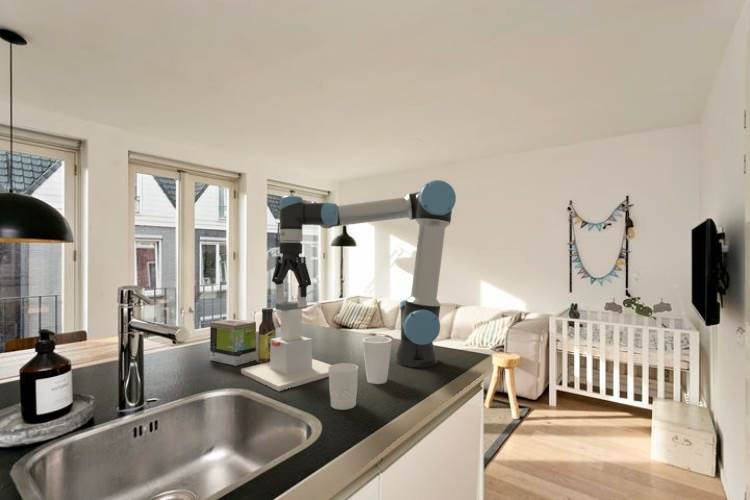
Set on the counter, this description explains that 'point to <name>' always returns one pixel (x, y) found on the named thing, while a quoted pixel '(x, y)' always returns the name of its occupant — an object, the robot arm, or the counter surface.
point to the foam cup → (377, 358)
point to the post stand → (288, 365)
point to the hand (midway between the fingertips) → (290, 305)
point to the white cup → (343, 385)
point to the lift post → (290, 320)
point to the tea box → (233, 341)
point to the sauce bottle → (265, 335)
